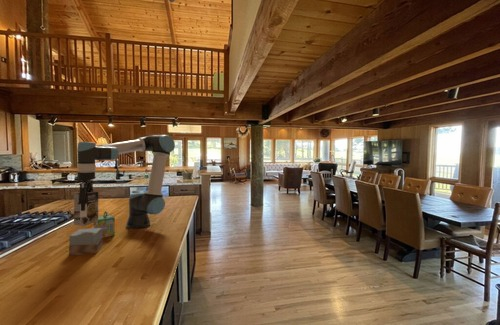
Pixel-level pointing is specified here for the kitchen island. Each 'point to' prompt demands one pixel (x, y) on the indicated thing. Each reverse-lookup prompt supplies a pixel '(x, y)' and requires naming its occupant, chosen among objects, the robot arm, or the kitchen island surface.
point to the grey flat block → (85, 236)
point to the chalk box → (106, 225)
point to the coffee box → (91, 209)
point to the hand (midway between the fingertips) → (86, 213)
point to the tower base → (86, 248)
